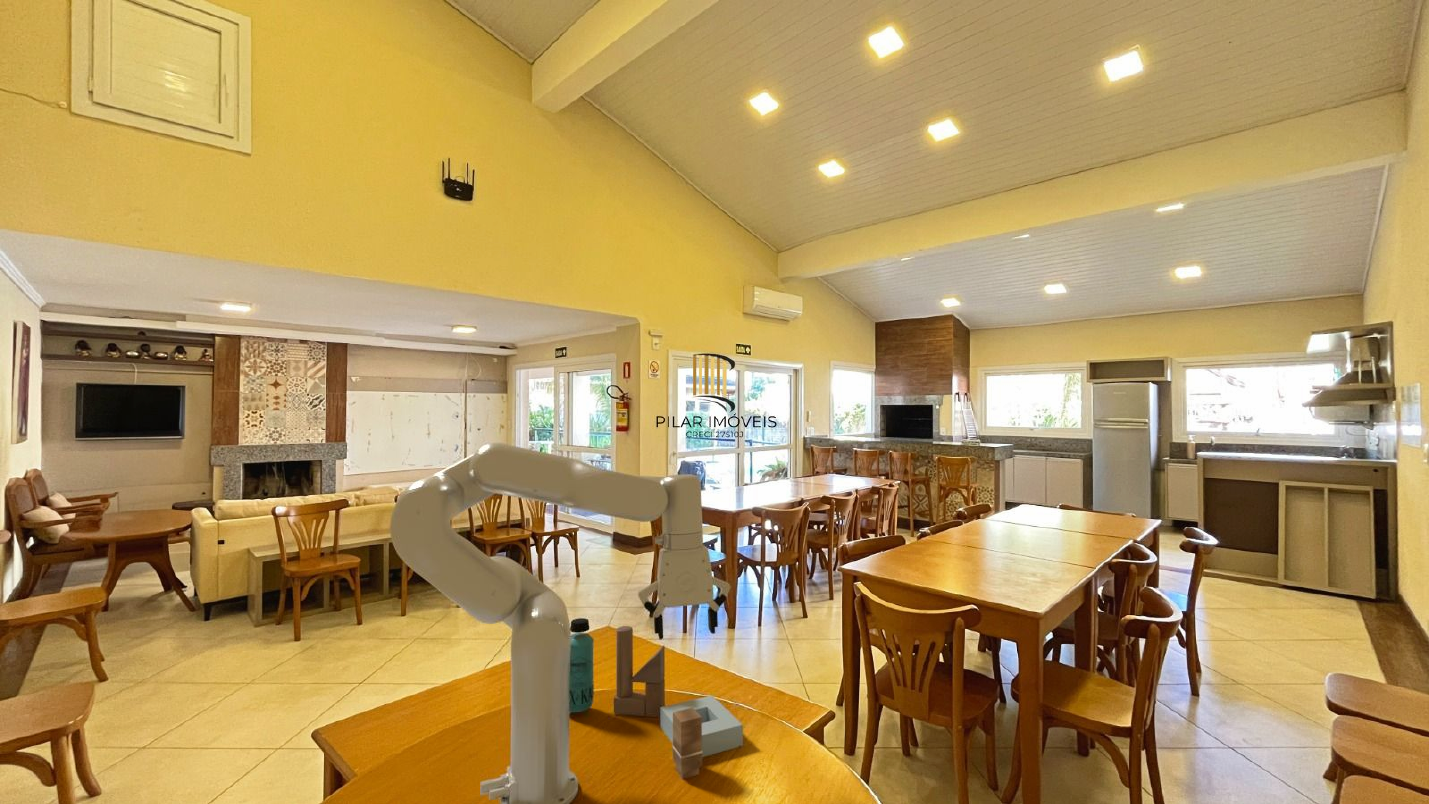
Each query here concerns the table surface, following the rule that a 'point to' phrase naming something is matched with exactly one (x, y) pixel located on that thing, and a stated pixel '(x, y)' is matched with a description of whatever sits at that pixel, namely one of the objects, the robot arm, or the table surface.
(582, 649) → the beverage bottle
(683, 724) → the peg
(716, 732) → the grey square-hole block
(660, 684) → the wooden block structure
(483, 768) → the table surface
